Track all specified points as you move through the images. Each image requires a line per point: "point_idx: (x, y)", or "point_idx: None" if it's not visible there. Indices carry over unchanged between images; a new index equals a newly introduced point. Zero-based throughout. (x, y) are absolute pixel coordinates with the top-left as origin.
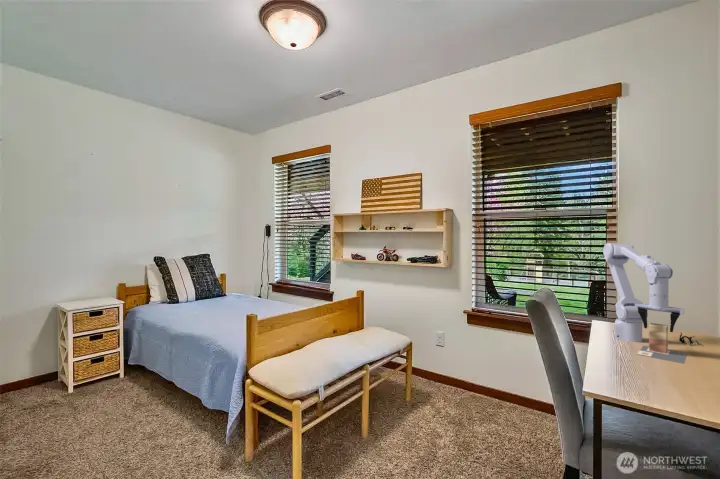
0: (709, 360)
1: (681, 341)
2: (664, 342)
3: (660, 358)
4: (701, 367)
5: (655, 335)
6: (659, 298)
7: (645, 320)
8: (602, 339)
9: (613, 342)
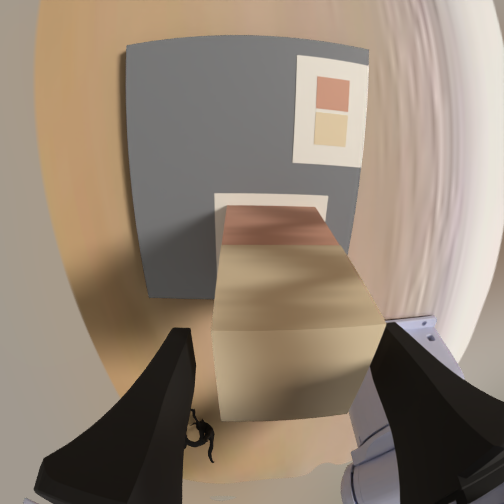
0: (76, 272)
1: (207, 426)
2: (233, 238)
3: (243, 50)
4: (68, 103)
5: (303, 260)
6: None
7: (427, 374)
8: (470, 294)
9: (445, 280)
